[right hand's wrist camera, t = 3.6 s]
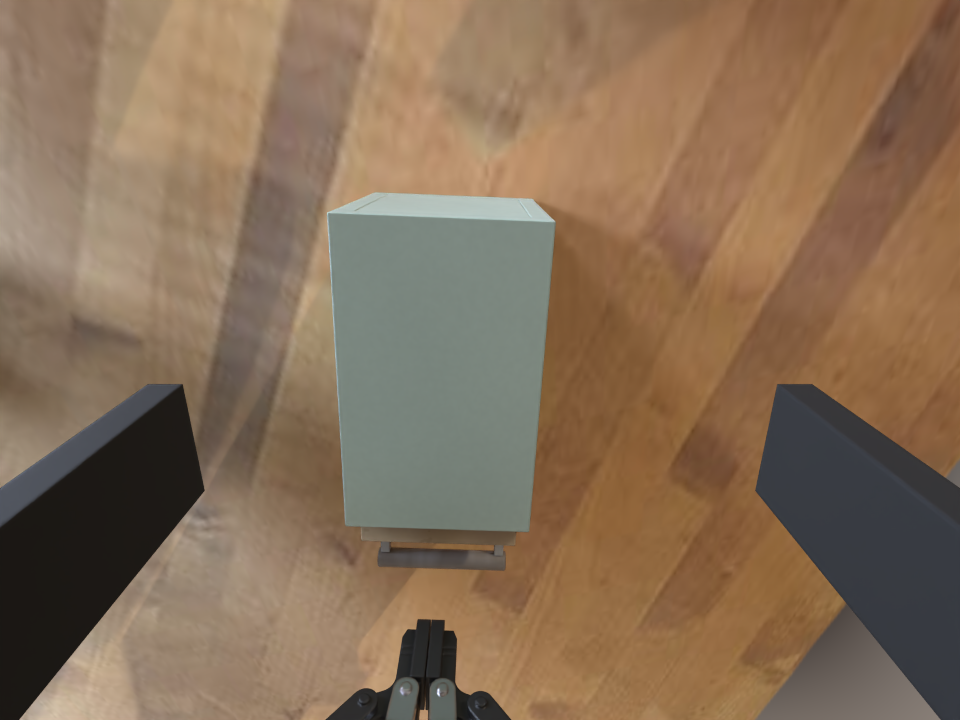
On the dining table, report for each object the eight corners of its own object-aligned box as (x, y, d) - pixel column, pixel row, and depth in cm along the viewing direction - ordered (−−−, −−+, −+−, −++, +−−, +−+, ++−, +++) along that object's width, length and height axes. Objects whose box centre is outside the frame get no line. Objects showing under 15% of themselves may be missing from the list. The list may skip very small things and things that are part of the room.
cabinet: (516, 432, 41) (529, 532, 31) (380, 427, 41) (345, 526, 30) (532, 198, 35) (556, 221, 25) (373, 192, 35) (326, 212, 24)
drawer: (503, 522, 43) (509, 620, 34) (388, 518, 43) (364, 615, 34) (521, 250, 36) (535, 284, 27) (382, 245, 35) (348, 277, 26)
